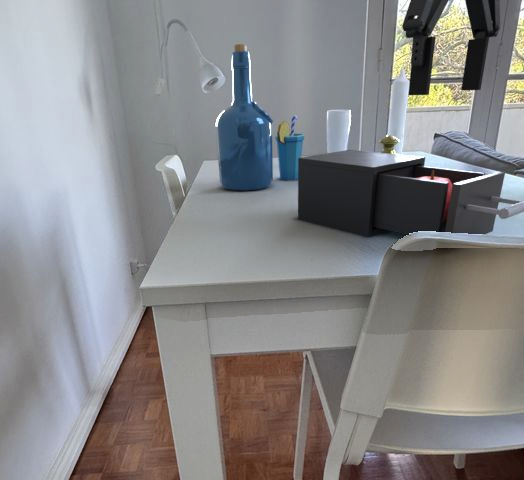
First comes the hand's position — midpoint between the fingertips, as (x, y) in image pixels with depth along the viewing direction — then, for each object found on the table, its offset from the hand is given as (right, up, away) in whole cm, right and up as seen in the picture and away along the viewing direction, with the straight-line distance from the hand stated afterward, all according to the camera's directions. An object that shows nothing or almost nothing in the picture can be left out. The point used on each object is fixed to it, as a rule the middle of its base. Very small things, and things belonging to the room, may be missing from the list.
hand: (446, 92), depth 67 cm
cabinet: (-9, -13, +20) cm, 25 cm away
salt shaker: (+6, +8, +56) cm, 57 cm away
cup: (-19, +9, +59) cm, 63 cm away
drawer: (+2, -18, +7) cm, 20 cm away
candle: (+12, +17, +71) cm, 74 cm away
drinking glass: (-4, +18, +74) cm, 77 cm away
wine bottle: (-30, +4, +51) cm, 59 cm away
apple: (0, -16, +9) cm, 19 cm away
